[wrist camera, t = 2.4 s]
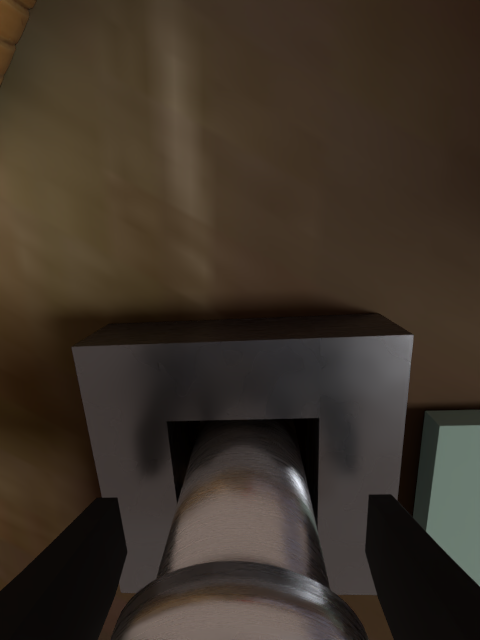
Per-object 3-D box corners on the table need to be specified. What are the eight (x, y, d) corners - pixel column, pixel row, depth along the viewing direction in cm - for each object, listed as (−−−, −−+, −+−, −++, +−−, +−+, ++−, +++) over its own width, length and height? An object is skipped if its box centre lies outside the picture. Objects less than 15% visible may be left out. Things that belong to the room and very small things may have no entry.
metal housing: (108, 324, 12) (71, 346, 9) (379, 313, 11) (413, 334, 9) (143, 532, 14) (121, 592, 12) (364, 532, 14) (388, 595, 11)
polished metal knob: (180, 382, 12) (59, 628, 5) (308, 378, 12) (406, 632, 4) (192, 486, 14) (112, 816, 6) (308, 485, 13) (382, 828, 6)
